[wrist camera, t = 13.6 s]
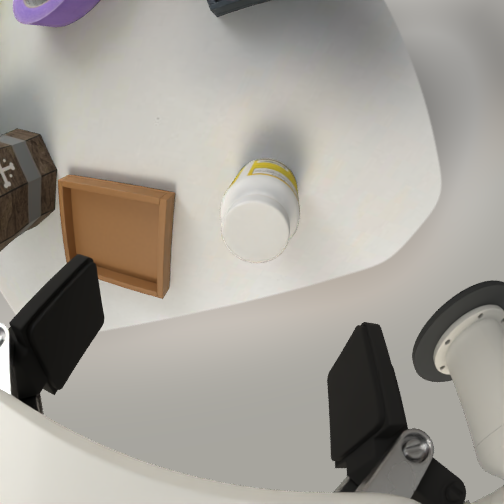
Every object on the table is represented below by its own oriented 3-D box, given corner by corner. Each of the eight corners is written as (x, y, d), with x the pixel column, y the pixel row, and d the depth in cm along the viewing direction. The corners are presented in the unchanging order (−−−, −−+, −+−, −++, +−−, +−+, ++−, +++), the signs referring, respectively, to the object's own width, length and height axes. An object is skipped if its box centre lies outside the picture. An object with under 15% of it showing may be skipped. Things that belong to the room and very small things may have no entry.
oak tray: (175, 192, 27) (167, 199, 25) (169, 288, 32) (162, 299, 30) (69, 174, 27) (57, 179, 25) (76, 260, 32) (67, 268, 31)
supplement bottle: (253, 224, 27) (234, 284, 19) (225, 172, 25) (191, 211, 17) (307, 202, 26) (315, 255, 17) (281, 147, 23) (277, 171, 15)
